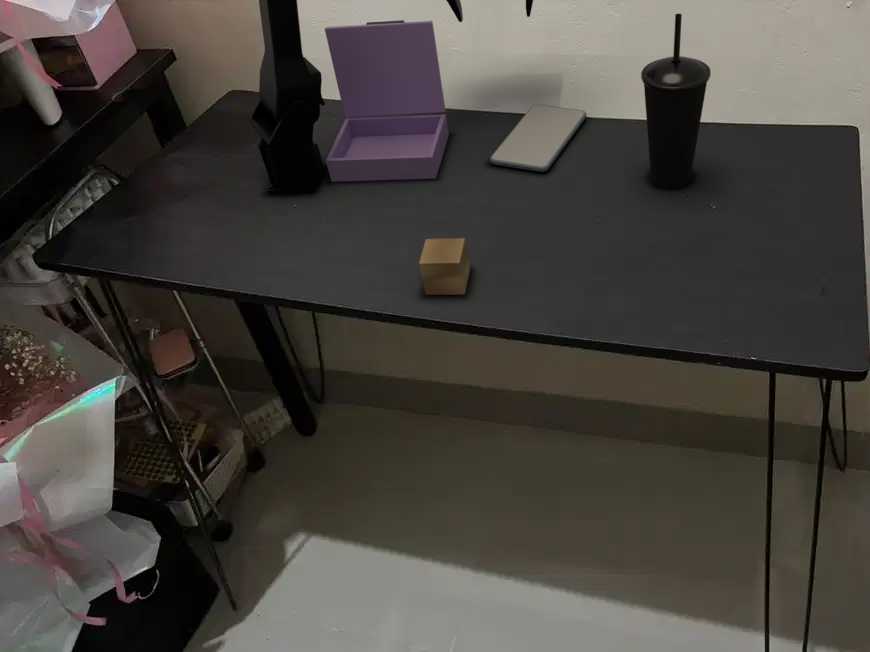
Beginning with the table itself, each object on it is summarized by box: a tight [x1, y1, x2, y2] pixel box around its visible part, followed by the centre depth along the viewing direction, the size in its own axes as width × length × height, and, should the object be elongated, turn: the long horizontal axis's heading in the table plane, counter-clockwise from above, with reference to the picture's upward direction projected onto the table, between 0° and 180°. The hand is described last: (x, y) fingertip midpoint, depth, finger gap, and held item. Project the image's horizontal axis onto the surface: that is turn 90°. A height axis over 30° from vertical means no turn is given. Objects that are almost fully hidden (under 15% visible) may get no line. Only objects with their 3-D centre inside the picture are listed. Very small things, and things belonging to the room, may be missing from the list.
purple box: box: [325, 113, 450, 183], centre depth 112 cm, size 11×14×3 cm
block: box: [418, 237, 471, 296], centre depth 91 cm, size 4×4×4 cm
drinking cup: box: [640, 13, 712, 189], centre depth 96 cm, size 8×8×20 cm
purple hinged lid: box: [324, 19, 446, 117], centre depth 112 cm, size 12×14×4 cm
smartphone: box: [489, 104, 587, 173], centre depth 112 cm, size 8×1×15 cm
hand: (494, 18), depth 112 cm, fingers open, 9 cm apart
